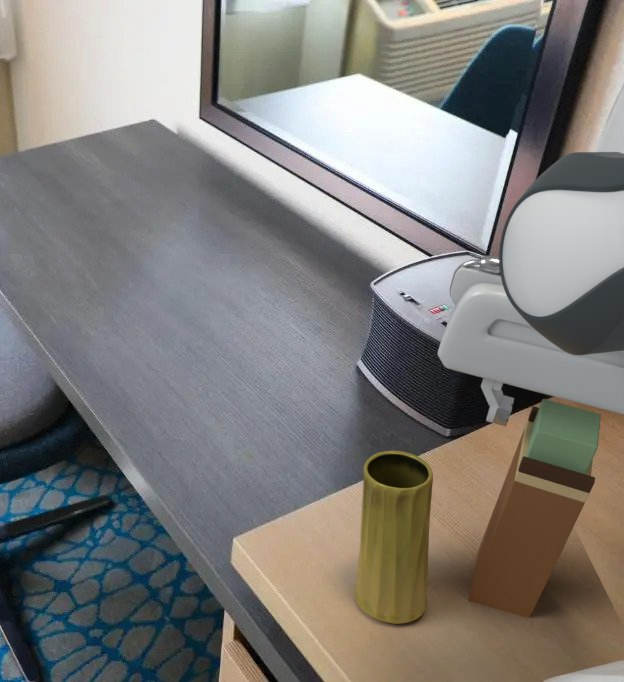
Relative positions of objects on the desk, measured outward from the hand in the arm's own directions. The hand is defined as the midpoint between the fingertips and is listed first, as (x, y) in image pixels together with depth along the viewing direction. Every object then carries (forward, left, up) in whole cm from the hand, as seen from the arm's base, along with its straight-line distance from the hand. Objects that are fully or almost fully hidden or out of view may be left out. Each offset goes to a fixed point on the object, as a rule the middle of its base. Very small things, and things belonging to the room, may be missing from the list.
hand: (563, 438), depth 59 cm
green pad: (0, 0, -2) cm, 2 cm away
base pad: (0, 0, -19) cm, 19 cm away
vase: (+3, +10, -18) cm, 21 cm away
